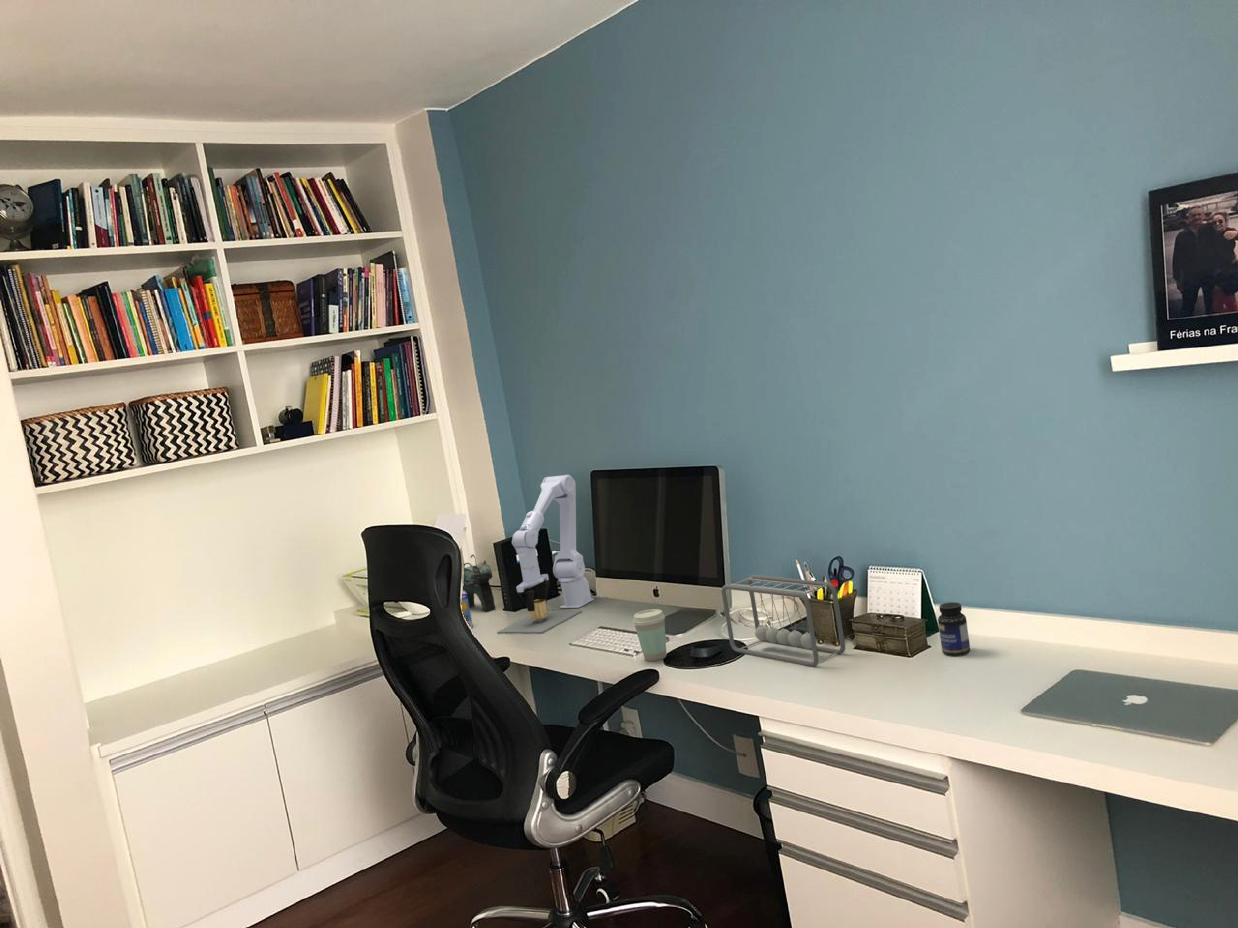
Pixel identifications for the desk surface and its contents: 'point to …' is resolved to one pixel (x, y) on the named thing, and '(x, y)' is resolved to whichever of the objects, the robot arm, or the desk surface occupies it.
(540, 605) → the wooden link ring
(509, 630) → the grey square plate
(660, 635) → the coffee cup
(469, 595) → the toy ray gun
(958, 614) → the pill bottle
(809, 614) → the newton's cradle
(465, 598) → the ink cartridge box
